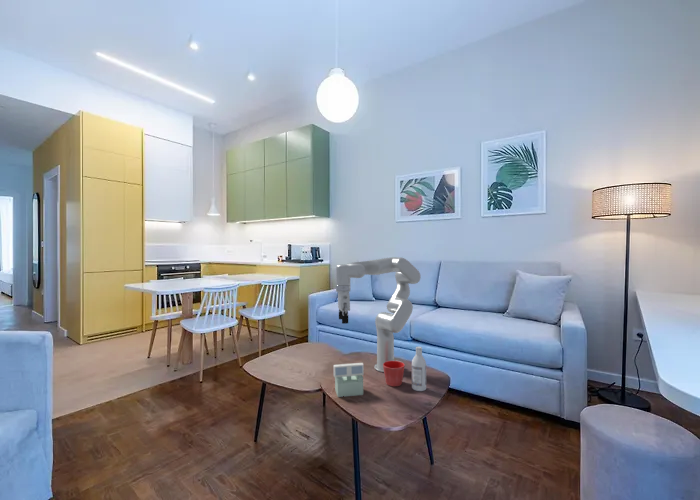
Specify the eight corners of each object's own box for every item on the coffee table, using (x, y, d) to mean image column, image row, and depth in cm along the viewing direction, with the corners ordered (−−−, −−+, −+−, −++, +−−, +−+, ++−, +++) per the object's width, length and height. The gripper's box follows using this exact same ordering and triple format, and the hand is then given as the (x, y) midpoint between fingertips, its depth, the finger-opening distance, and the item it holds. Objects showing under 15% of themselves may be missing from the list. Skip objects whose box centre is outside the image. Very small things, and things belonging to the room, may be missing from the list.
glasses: (362, 373, 152) (362, 362, 152) (363, 375, 149) (363, 364, 149) (333, 375, 149) (333, 364, 149) (334, 377, 146) (334, 366, 146)
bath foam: (419, 384, 158) (419, 344, 157) (429, 389, 151) (429, 348, 151) (408, 387, 154) (408, 346, 154) (418, 392, 148) (418, 350, 148)
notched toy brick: (359, 387, 154) (359, 371, 154) (363, 394, 146) (363, 377, 146) (335, 389, 152) (335, 372, 152) (337, 397, 144) (337, 379, 144)
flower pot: (379, 381, 161) (379, 362, 161) (397, 377, 166) (397, 359, 166) (389, 389, 152) (389, 369, 152) (408, 385, 156) (408, 366, 156)
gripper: (353, 290, 156) (353, 324, 156) (347, 286, 173) (347, 317, 173) (338, 290, 154) (339, 325, 154) (333, 286, 171) (333, 318, 171)
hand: (343, 321), depth 164 cm, fingers open, 9 cm apart
